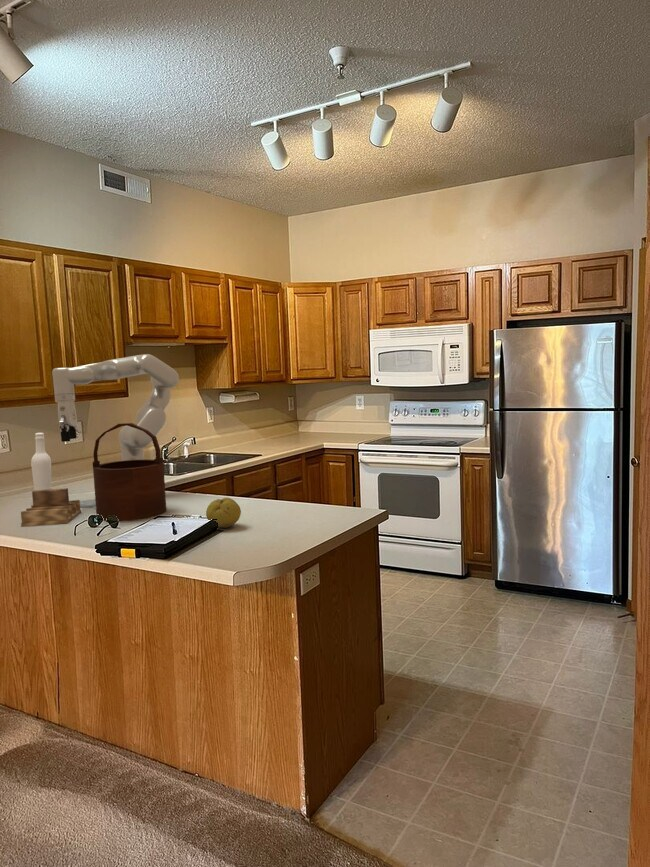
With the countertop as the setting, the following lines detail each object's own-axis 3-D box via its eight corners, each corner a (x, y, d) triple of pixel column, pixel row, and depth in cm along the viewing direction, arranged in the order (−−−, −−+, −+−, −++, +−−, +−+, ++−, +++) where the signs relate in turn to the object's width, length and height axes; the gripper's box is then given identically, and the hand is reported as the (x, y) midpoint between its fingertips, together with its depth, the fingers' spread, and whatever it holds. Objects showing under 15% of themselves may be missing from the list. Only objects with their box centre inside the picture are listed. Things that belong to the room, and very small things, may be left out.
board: (70, 514, 234) (67, 488, 233) (67, 515, 231) (65, 489, 230) (37, 516, 232) (34, 490, 231) (34, 517, 229) (32, 491, 228)
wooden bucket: (106, 508, 248) (100, 422, 245) (171, 504, 251) (166, 419, 247) (88, 523, 223) (80, 427, 219) (160, 519, 225) (154, 424, 221)
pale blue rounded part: (109, 501, 263) (109, 498, 263) (102, 507, 251) (102, 504, 251) (80, 503, 261) (80, 500, 261) (72, 509, 250) (71, 506, 249)
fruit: (222, 522, 217) (220, 494, 216) (248, 525, 211) (247, 496, 210) (200, 529, 207) (199, 500, 206) (228, 533, 201) (226, 503, 200)
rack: (81, 512, 241) (80, 499, 241) (67, 523, 223) (66, 509, 223) (38, 515, 240) (37, 502, 239) (21, 526, 222) (20, 512, 221)
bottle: (43, 504, 260) (39, 433, 258) (28, 503, 263) (24, 433, 260) (57, 500, 268) (54, 432, 265) (43, 499, 271) (39, 431, 268)
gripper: (68, 398, 240) (73, 441, 242) (80, 396, 257) (84, 437, 259) (48, 399, 239) (53, 443, 241) (61, 397, 256) (65, 438, 258)
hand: (69, 440), depth 250 cm, fingers open, 9 cm apart
